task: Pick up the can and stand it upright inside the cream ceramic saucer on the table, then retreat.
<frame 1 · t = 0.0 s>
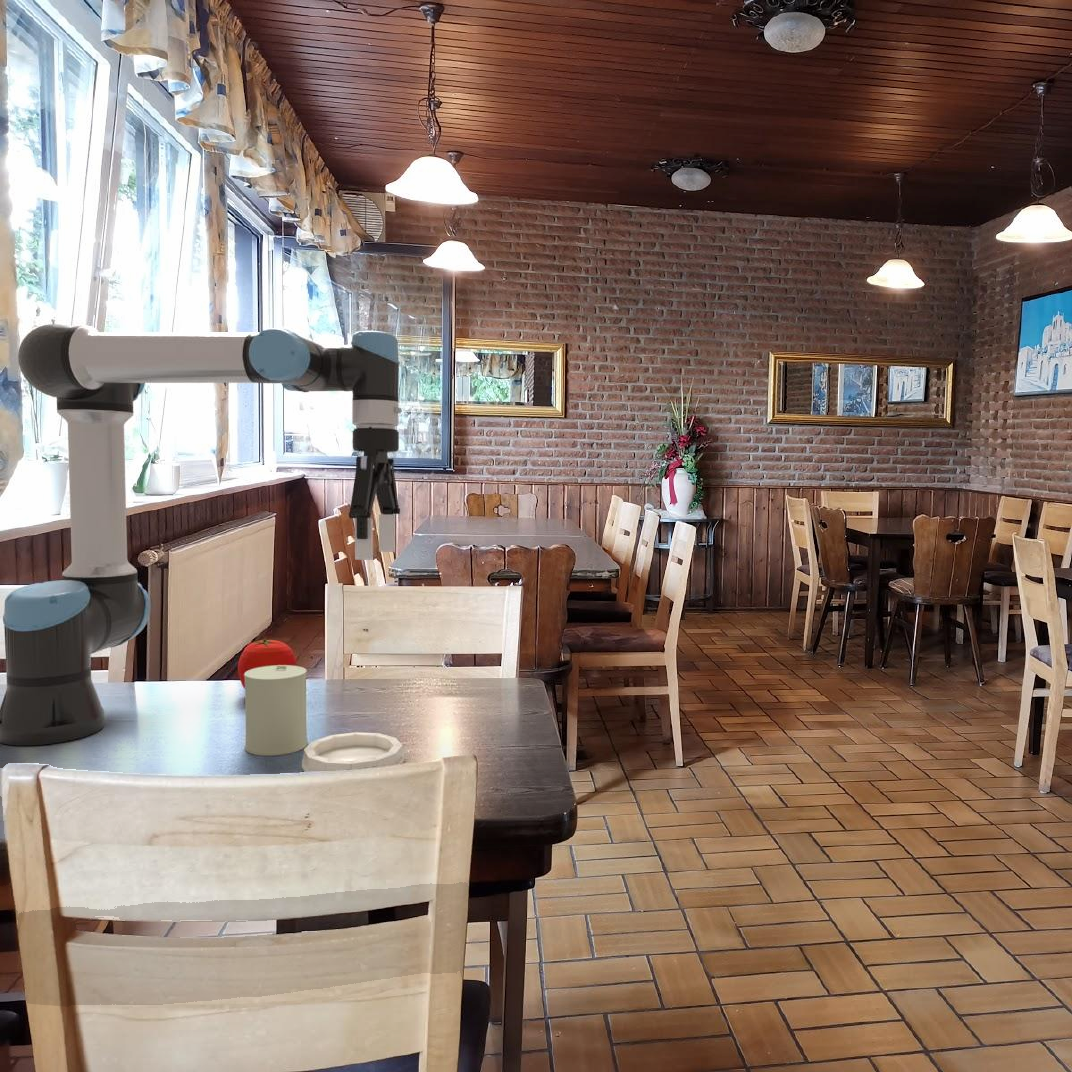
hand: (376, 555, 140), 28 cm above the table, fingers open, 13 cm apart
tomato: (267, 696, 156), on the table
saucer: (353, 763, 121), on the table
can: (276, 747, 128), on the table
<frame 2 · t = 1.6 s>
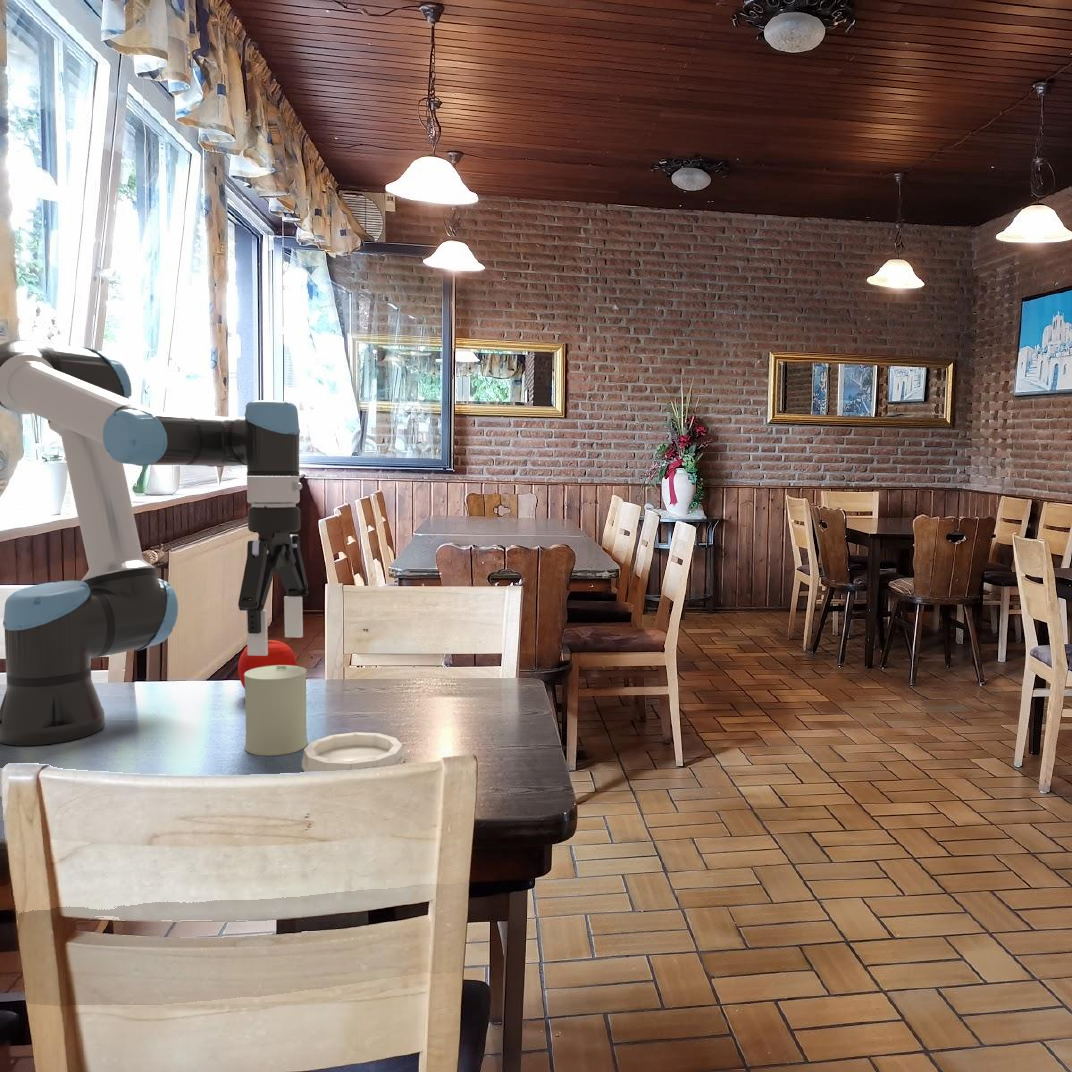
hand: (276, 645, 127), 16 cm above the table, fingers open, 13 cm apart
nothing on the table moved.
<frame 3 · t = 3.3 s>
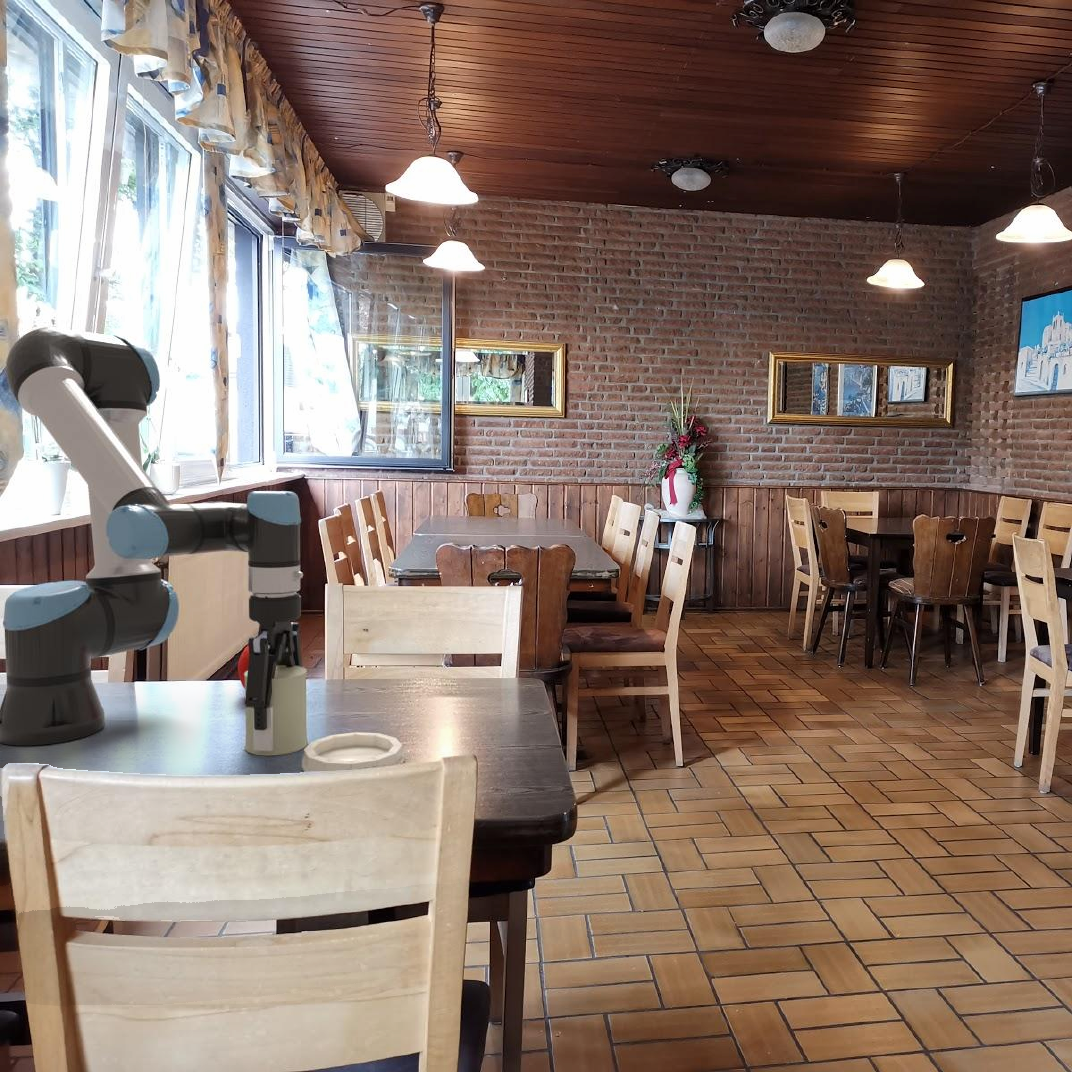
hand: (276, 739, 128), 1 cm above the table, fingers closed on can, 9 cm apart
can: (276, 746, 128), on the table, touching gripper
everything else where it was.
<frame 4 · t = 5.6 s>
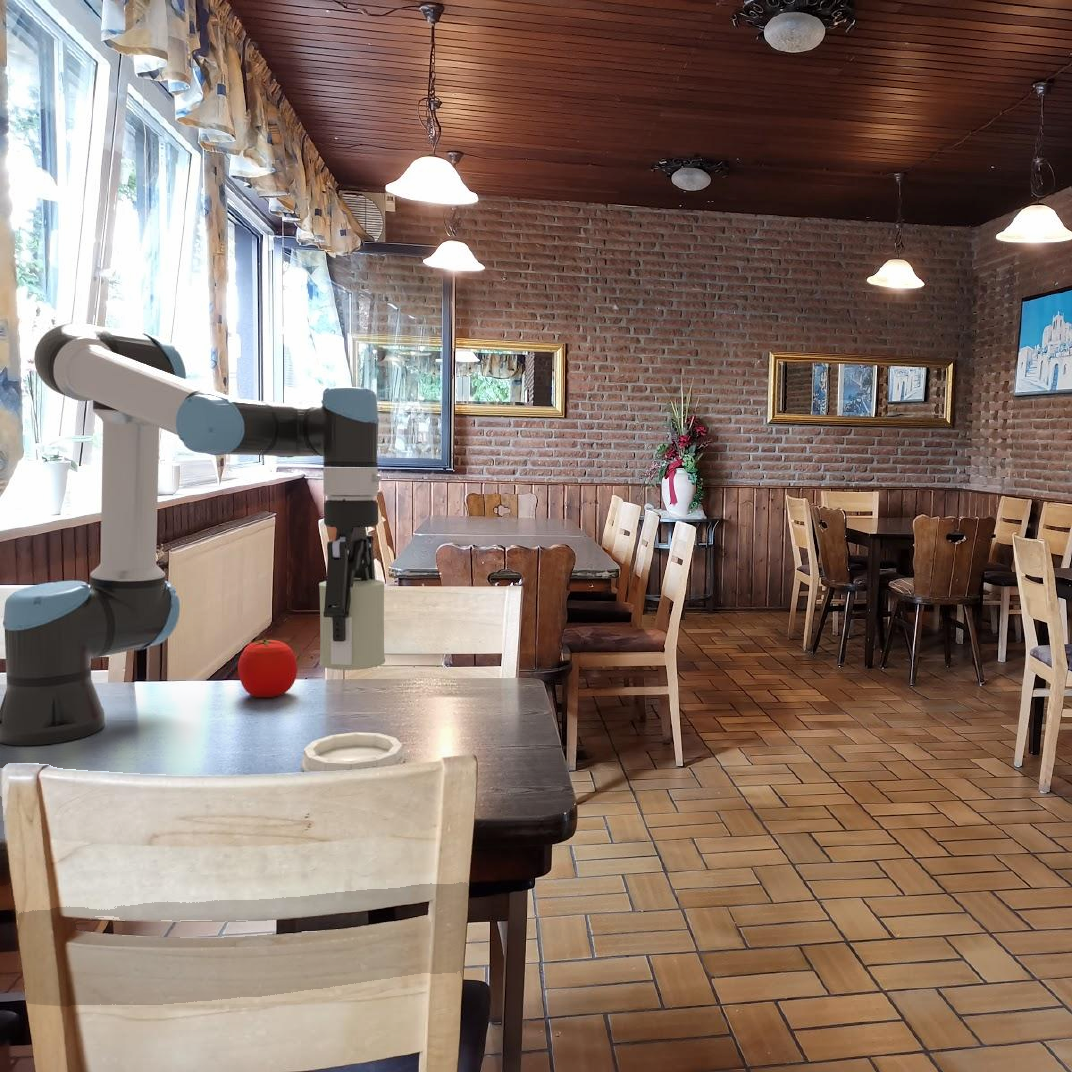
hand: (352, 656, 119), 16 cm above the table, fingers closed on can, 9 cm apart
can: (352, 664, 120), point 15 cm above the table, touching gripper
everything else where it was.
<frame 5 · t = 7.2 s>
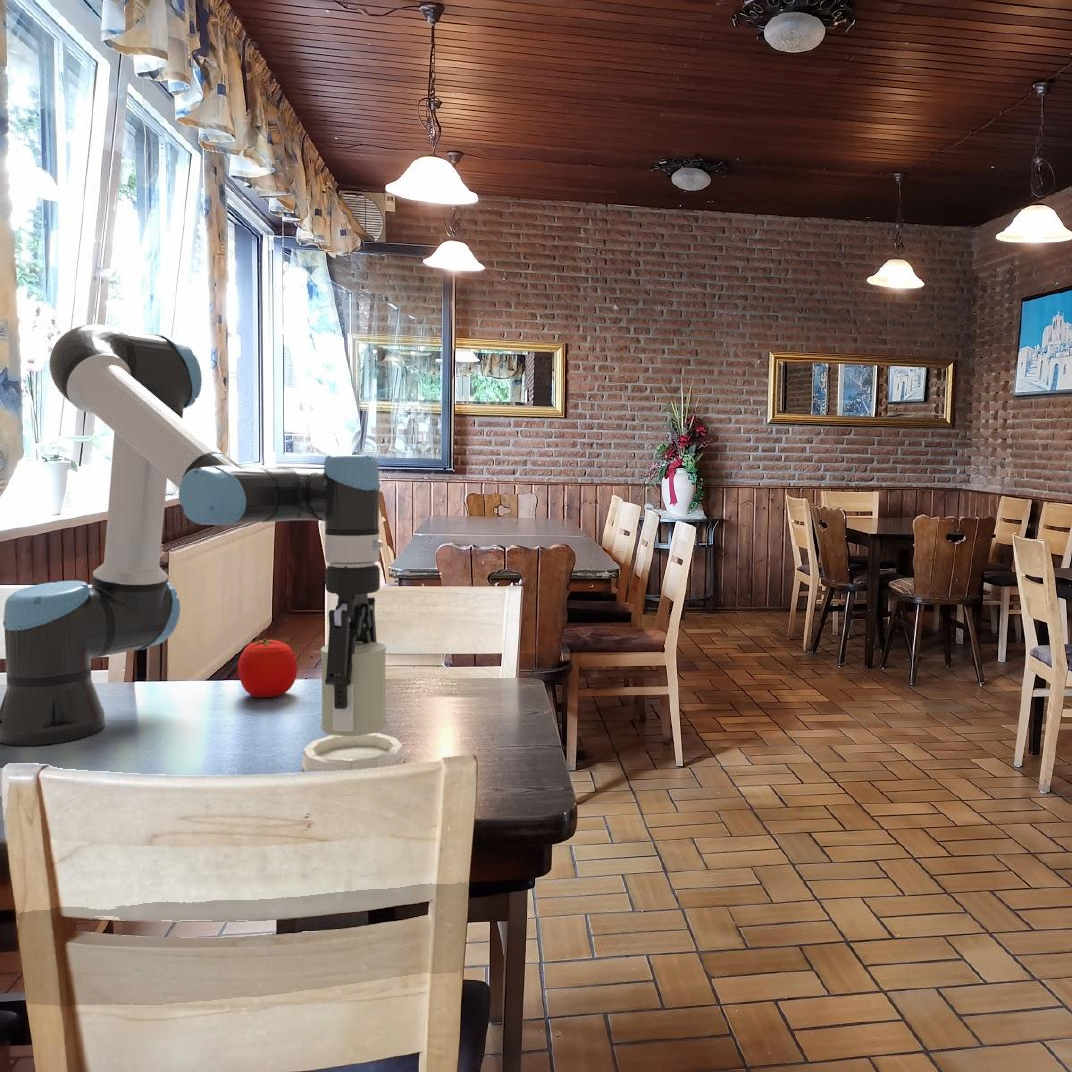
hand: (353, 719, 120), 6 cm above the table, fingers closed on can, 9 cm apart
can: (354, 727, 120), point 5 cm above the table, touching gripper
everything else where it was.
when the fingers open (4 cm above the table, at t = 8.3 s): can drops 2 cm, resting on saucer.
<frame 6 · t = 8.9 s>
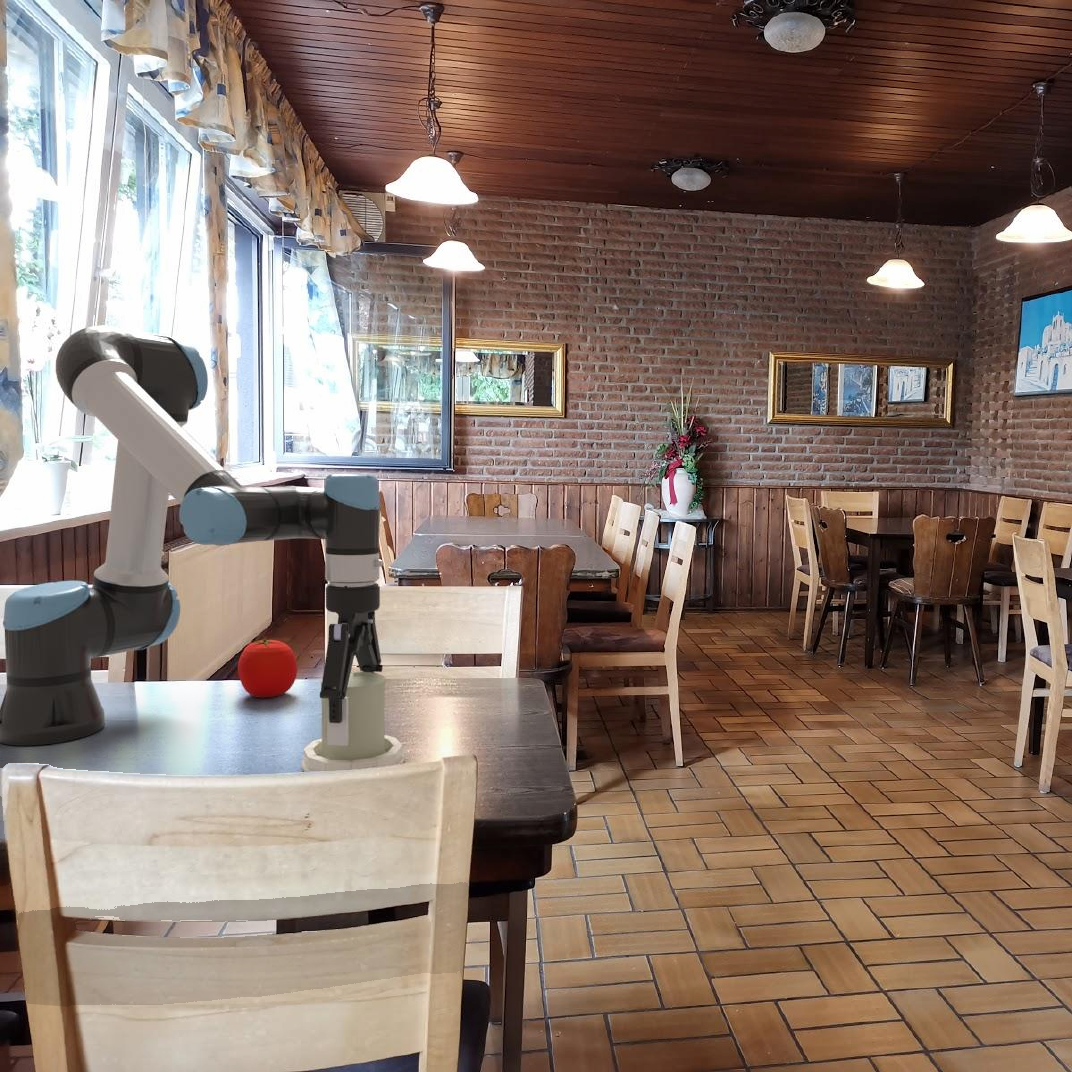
hand: (353, 729, 120), 5 cm above the table, fingers open, 13 cm apart
can: (353, 758, 121), point 1 cm above the table, touching saucer
everything else where it was.
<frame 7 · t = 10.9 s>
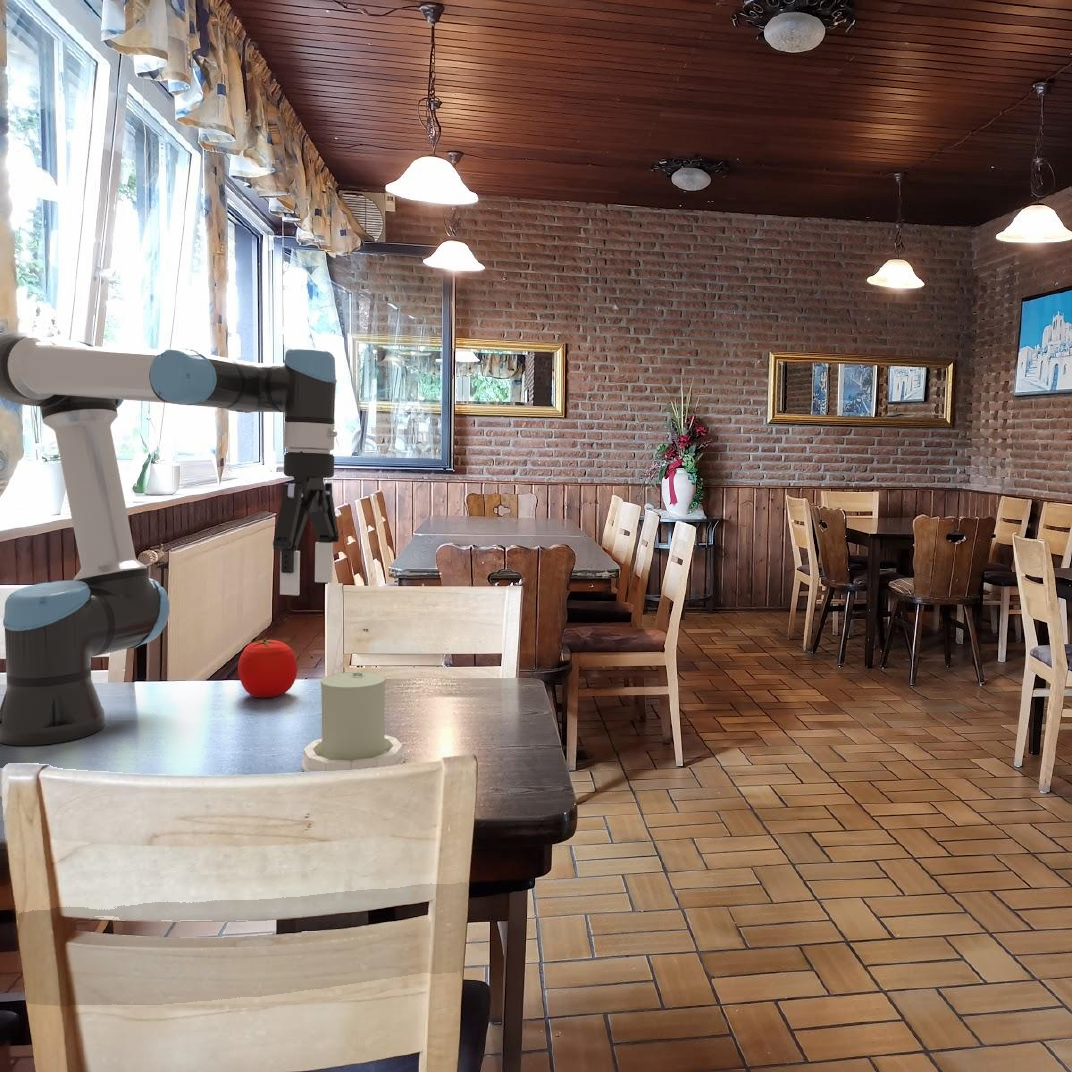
hand: (307, 588, 131), 24 cm above the table, fingers open, 13 cm apart
nothing on the table moved.
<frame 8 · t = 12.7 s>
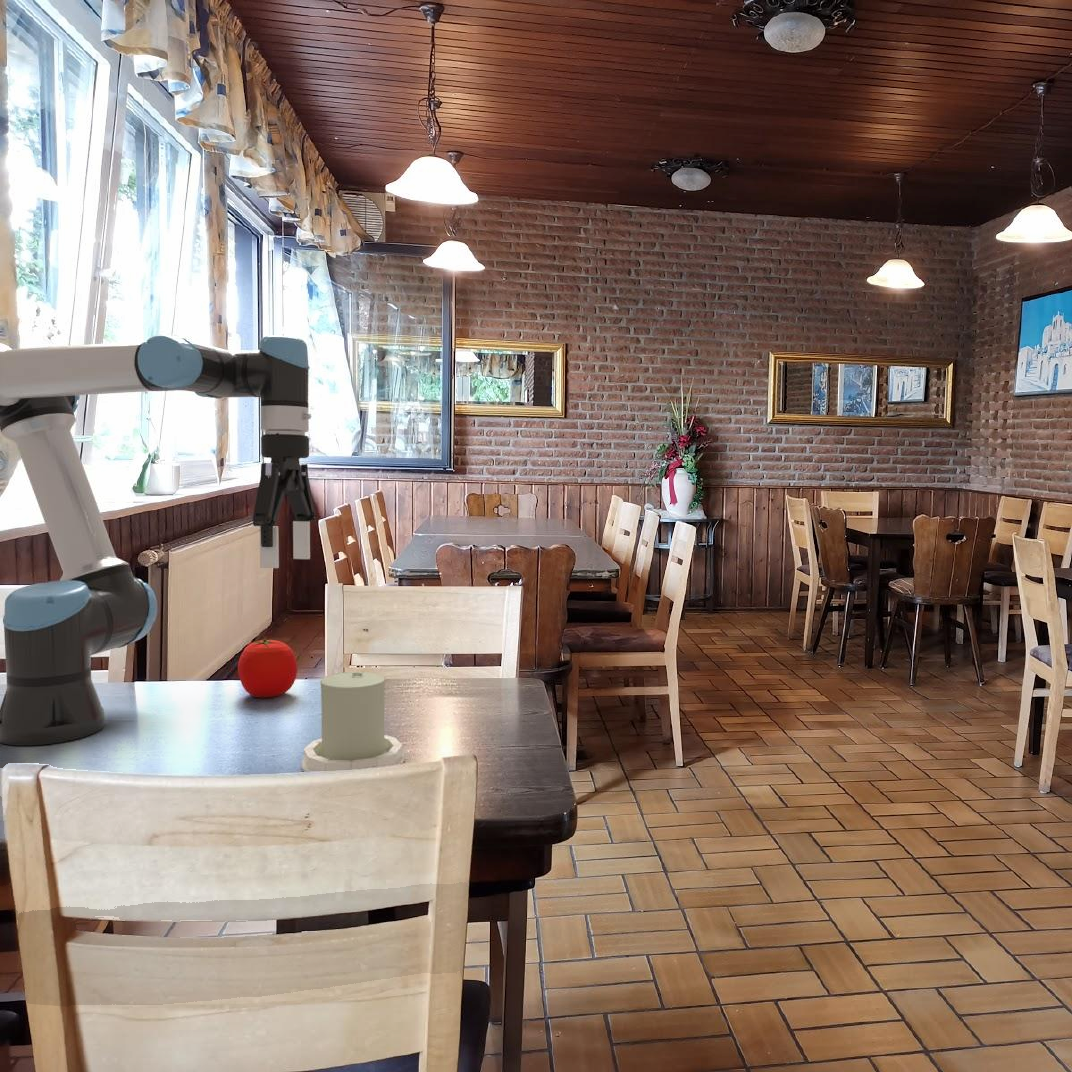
hand: (286, 563, 138), 27 cm above the table, fingers open, 13 cm apart
nothing on the table moved.
at the end: can 0.1 cm from the saucer (horizontally); can tilted 0°; can point 0.6 cm above the table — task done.
